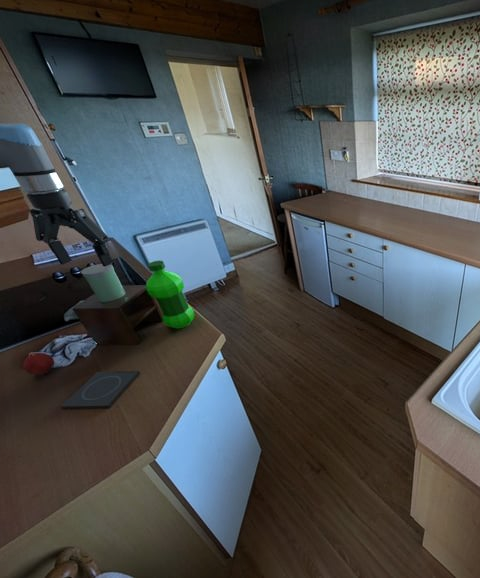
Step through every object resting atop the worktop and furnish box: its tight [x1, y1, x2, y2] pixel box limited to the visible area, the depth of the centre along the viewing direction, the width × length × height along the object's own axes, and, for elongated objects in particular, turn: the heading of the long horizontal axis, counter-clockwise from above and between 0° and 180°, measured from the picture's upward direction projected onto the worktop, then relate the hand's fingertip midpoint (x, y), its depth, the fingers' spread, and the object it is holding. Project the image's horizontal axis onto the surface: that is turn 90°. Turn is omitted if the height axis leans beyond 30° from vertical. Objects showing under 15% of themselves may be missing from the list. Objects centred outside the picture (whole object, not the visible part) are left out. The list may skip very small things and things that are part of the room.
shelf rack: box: [71, 284, 163, 346], centre depth 100 cm, size 14×14×15 cm
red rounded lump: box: [22, 352, 55, 375], centre depth 85 cm, size 6×6×8 cm
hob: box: [60, 370, 141, 410], centre depth 82 cm, size 12×12×1 cm
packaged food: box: [63, 299, 85, 322], centre depth 111 cm, size 9×12×5 cm
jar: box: [80, 263, 126, 302], centre depth 94 cm, size 7×7×10 cm
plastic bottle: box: [145, 260, 195, 330], centre depth 101 cm, size 10×10×25 cm
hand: (87, 263), depth 88 cm, fingers open, 13 cm apart
